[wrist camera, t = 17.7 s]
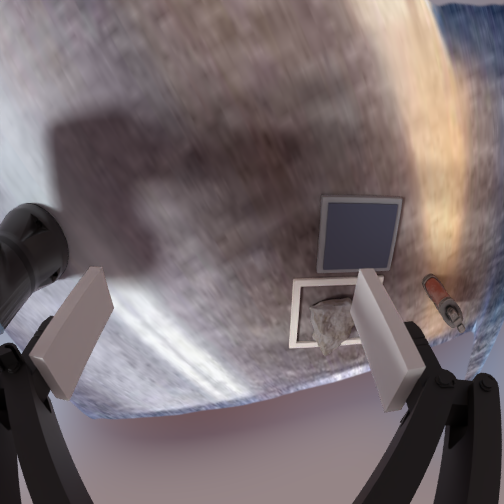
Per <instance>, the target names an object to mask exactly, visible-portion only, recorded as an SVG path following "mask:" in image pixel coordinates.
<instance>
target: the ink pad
mask: <svg viewBox="0 0 504 504" xmlns="http://www.w3.org/2000/svg"><path fill="white" fill-rule="evenodd" d="M401 206H402V198H401V197H398V196H370V195H321V210H320V226H319V240H318V253H317V264H316V271H317V273H341V272H359V269H366V268H373V269H374V270H375V271H390V266H391V261H392V257H393V252H394V247H395V241H396V236H397V230H398V225H399V219H400V212H401Z"/></svg>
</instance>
